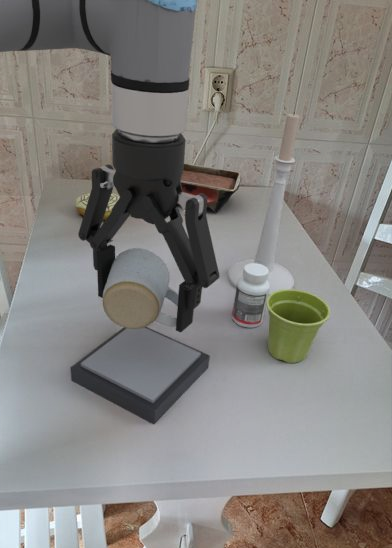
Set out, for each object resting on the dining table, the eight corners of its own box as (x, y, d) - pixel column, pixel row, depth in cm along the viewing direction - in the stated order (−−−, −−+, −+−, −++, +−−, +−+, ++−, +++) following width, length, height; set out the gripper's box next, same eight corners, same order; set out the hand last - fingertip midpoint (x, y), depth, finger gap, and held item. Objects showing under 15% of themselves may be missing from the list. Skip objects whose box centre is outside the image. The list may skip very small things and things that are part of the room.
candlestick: (232, 258, 100) (257, 98, 81) (294, 269, 99) (333, 109, 80) (223, 290, 90) (249, 115, 72) (292, 302, 89) (337, 128, 70)
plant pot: (276, 376, 72) (288, 329, 67) (246, 339, 79) (255, 293, 74) (327, 364, 76) (343, 318, 70) (295, 329, 82) (307, 285, 77)
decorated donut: (90, 200, 117) (89, 185, 114) (131, 209, 115) (132, 194, 112) (68, 216, 109) (67, 200, 106) (113, 226, 107) (112, 209, 104)
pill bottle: (238, 307, 86) (247, 257, 80) (267, 316, 84) (278, 266, 78) (226, 322, 82) (234, 271, 76) (256, 332, 81) (266, 281, 75)
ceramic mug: (99, 330, 60) (98, 275, 55) (112, 294, 66) (112, 243, 62) (185, 340, 60) (192, 286, 55) (189, 304, 67) (195, 253, 62)
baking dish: (223, 227, 116) (236, 187, 110) (154, 202, 117) (163, 160, 112) (235, 210, 128) (247, 173, 122) (172, 187, 129) (181, 149, 123)
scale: (69, 379, 68) (68, 363, 66) (130, 332, 78) (131, 316, 76) (154, 424, 63) (155, 408, 61) (208, 367, 72) (210, 352, 71)
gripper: (270, 151, 48) (238, 329, 61) (83, 102, 57) (92, 268, 70) (235, 169, 43) (209, 359, 56) (35, 112, 51) (54, 290, 65)
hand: (144, 309), depth 63 cm, fingers closed on ceramic mug, 11 cm apart
